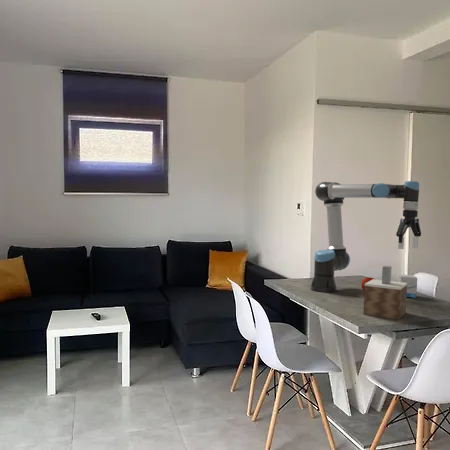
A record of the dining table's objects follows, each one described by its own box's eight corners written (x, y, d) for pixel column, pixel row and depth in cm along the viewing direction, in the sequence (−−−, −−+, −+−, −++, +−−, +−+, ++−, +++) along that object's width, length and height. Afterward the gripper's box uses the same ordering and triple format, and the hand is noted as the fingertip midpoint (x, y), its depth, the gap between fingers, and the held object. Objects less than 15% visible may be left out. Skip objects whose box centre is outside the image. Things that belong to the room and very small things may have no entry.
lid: (364, 285, 220) (365, 266, 219) (373, 281, 234) (374, 263, 233) (400, 289, 212) (401, 270, 211) (407, 284, 225) (408, 266, 225)
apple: (358, 295, 264) (359, 276, 264) (365, 293, 271) (366, 275, 270) (372, 298, 259) (373, 278, 258) (379, 296, 265) (380, 277, 264)
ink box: (416, 298, 262) (417, 277, 262) (400, 297, 264) (401, 276, 263) (413, 295, 271) (414, 275, 270) (398, 294, 272) (399, 274, 272)
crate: (363, 314, 221) (364, 285, 220) (371, 307, 234) (373, 281, 234) (399, 319, 212) (400, 289, 212) (405, 312, 226) (407, 284, 225)
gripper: (403, 209, 245) (400, 250, 246) (429, 210, 260) (427, 248, 261) (390, 209, 251) (388, 248, 252) (416, 209, 266) (414, 246, 267)
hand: (408, 248), depth 256 cm, fingers open, 13 cm apart
